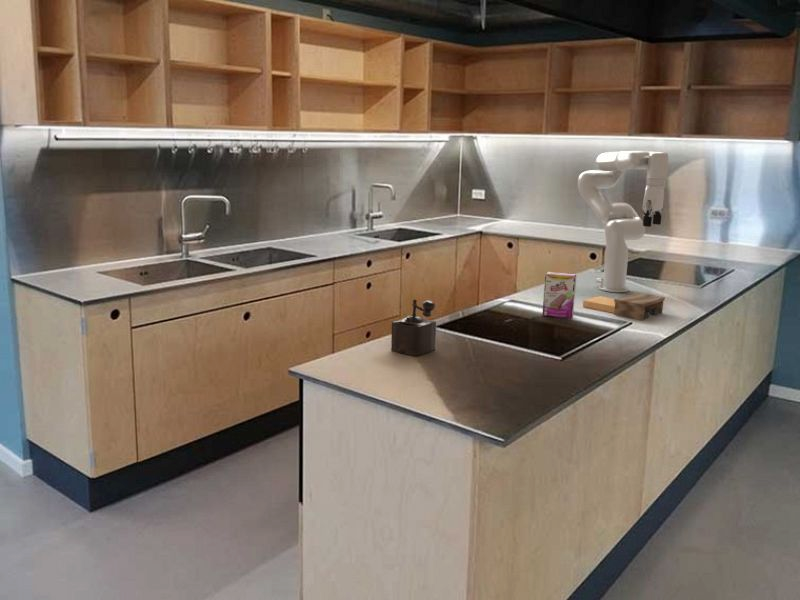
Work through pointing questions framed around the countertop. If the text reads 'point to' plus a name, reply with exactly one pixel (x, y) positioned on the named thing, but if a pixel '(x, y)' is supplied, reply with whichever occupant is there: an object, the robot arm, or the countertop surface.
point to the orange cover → (600, 304)
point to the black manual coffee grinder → (414, 332)
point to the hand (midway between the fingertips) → (651, 225)
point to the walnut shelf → (638, 305)
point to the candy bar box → (559, 295)
